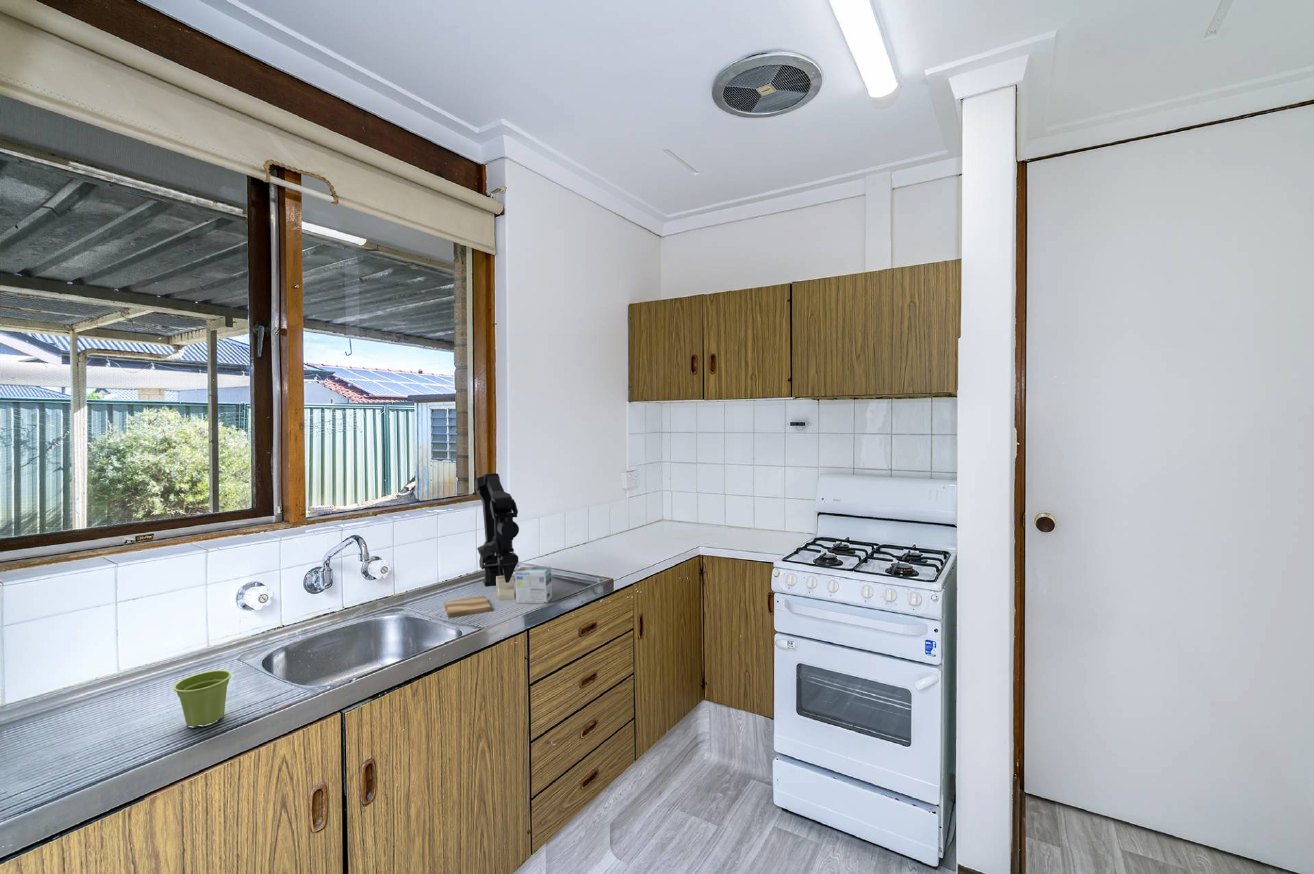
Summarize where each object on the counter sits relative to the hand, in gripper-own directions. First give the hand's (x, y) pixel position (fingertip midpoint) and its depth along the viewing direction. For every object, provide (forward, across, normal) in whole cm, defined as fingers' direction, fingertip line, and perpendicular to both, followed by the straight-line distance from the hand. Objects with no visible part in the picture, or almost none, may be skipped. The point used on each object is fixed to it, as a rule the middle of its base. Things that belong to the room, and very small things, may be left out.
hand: (504, 579), depth 200 cm
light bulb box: (+6, +8, +8) cm, 13 cm away
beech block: (+6, 0, 0) cm, 6 cm away
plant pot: (+6, +55, -70) cm, 90 cm away
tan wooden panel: (+7, +6, -13) cm, 16 cm away
